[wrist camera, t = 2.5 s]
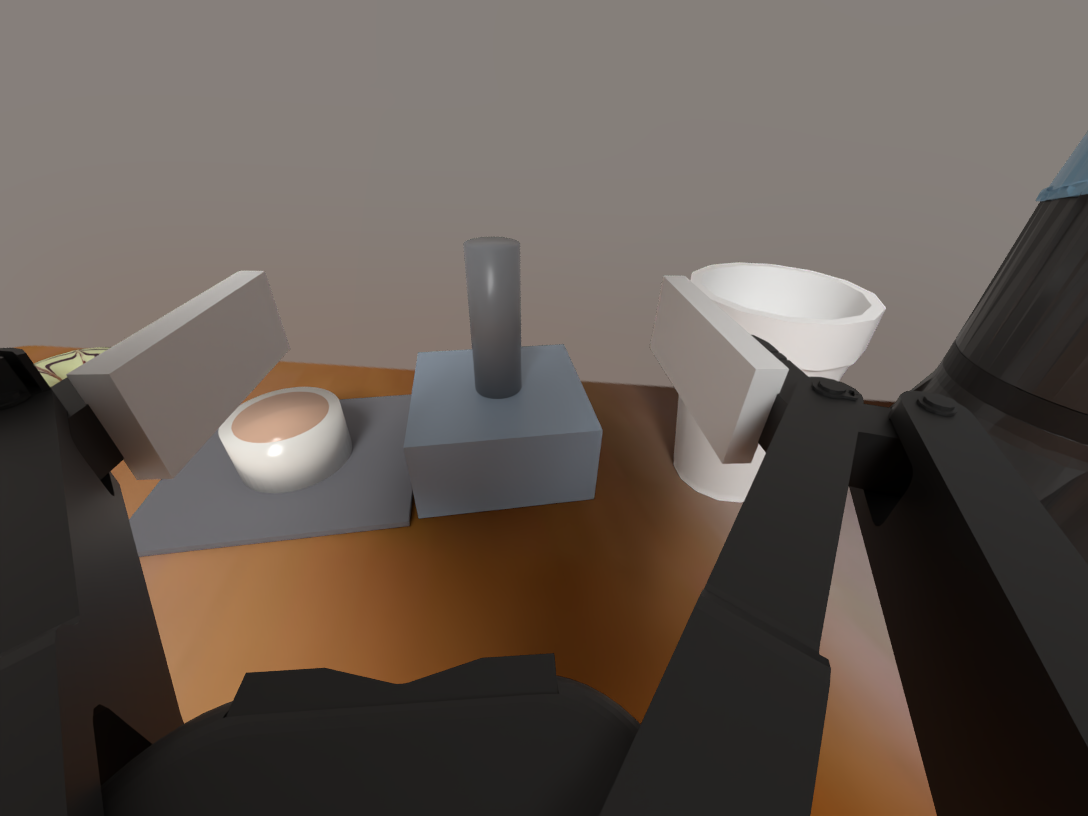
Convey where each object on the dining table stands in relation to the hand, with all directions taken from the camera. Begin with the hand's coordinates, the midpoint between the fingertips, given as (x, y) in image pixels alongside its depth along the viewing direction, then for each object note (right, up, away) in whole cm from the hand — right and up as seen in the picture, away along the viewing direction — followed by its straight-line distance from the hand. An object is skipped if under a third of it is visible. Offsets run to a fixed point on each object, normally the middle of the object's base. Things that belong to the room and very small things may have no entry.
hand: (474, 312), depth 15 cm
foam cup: (+15, -8, +16) cm, 23 cm away
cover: (-1, -6, +17) cm, 18 cm away
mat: (-15, -7, +15) cm, 22 cm away
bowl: (-15, -7, +15) cm, 22 cm away
